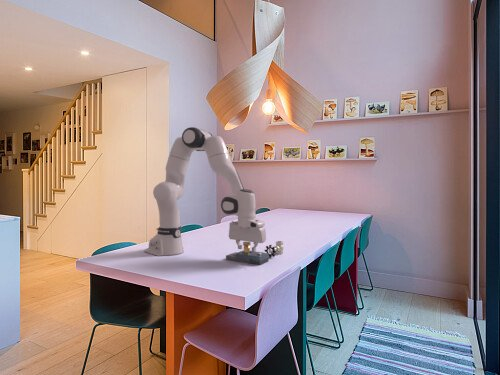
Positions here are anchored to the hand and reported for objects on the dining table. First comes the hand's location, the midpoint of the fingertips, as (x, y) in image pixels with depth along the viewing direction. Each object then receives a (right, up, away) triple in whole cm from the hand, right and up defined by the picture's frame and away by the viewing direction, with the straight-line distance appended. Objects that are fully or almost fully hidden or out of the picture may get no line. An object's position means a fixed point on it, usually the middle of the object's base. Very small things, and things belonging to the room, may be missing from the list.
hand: (246, 249), depth 168 cm
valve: (+15, -5, +11) cm, 19 cm away
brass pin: (0, -5, 0) cm, 5 cm away
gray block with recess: (0, -5, 0) cm, 5 cm away
